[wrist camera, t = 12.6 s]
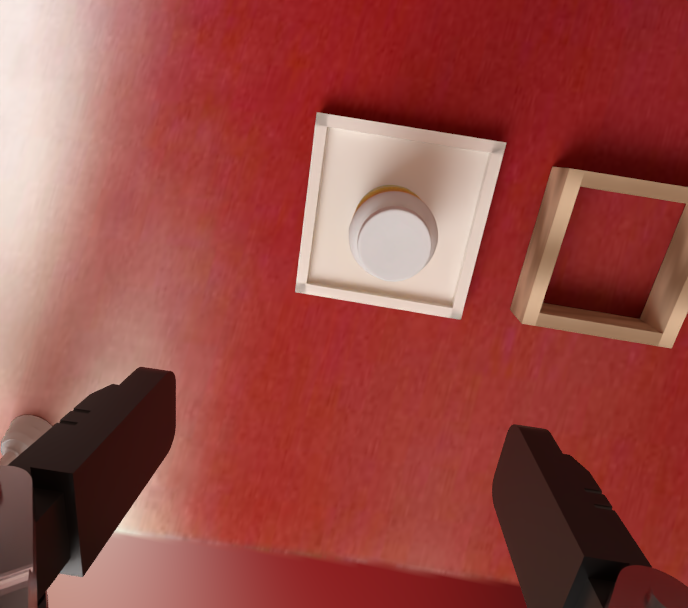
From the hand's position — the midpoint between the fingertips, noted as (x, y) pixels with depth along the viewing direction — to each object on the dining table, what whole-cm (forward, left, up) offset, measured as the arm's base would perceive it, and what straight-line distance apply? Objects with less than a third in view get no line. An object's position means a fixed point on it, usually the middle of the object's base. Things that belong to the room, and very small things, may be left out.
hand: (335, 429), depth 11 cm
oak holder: (-2, +18, -25) cm, 31 cm away
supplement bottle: (-2, +2, -24) cm, 25 cm away
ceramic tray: (-2, +2, -25) cm, 25 cm away
